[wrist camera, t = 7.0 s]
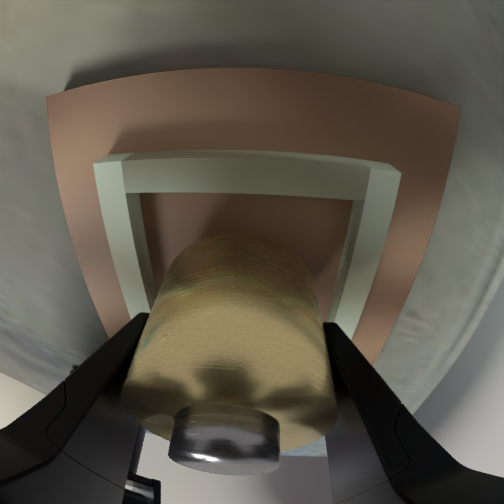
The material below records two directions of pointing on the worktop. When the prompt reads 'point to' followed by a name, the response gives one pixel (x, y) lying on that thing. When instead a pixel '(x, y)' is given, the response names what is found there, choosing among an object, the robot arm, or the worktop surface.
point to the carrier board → (253, 182)
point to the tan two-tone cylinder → (233, 358)
